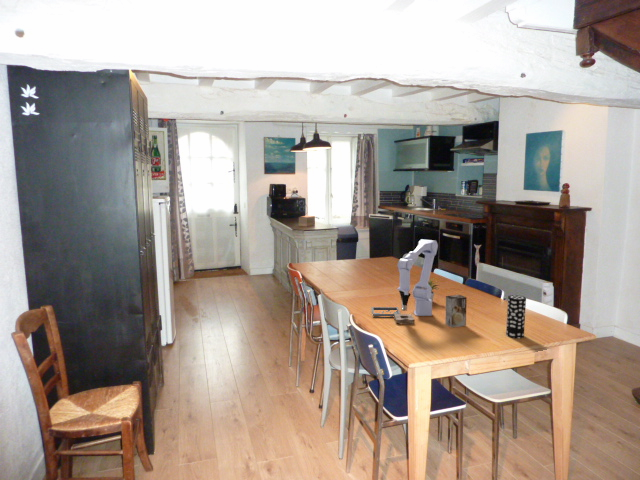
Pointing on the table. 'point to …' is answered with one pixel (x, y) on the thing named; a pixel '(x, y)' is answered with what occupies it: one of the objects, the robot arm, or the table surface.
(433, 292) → the house plant
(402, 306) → the pin
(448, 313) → the coffee box
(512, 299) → the white-spotted black cylinder
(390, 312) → the tray
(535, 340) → the table surface
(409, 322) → the pin block
